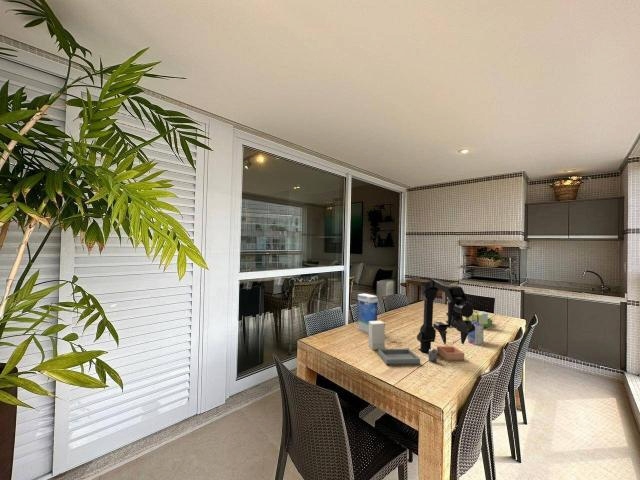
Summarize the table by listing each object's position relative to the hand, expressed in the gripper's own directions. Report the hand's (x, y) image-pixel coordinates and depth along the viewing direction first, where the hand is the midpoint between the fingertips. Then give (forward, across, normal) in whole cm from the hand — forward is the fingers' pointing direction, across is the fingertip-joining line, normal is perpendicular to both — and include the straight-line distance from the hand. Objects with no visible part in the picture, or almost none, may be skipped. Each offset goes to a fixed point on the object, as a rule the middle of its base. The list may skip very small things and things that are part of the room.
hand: (453, 343), depth 136 cm
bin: (+14, +10, +19) cm, 26 cm away
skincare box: (+14, -28, +34) cm, 47 cm away
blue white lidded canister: (+14, -25, +66) cm, 72 cm away
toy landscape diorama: (+15, +69, +79) cm, 106 cm away
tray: (+14, -21, +17) cm, 31 cm away
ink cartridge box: (+15, +40, +40) cm, 59 cm away
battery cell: (+14, -3, +14) cm, 20 cm away
